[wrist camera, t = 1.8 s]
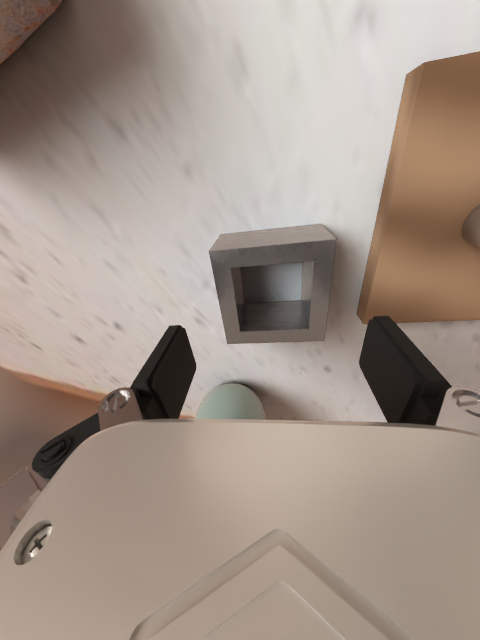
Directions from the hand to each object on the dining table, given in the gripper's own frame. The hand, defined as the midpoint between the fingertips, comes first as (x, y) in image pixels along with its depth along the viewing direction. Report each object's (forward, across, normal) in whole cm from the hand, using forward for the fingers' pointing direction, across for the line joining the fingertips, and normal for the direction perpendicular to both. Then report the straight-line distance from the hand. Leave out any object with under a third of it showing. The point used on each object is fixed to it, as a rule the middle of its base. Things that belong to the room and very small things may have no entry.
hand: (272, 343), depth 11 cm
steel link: (+7, 0, -1) cm, 8 cm away
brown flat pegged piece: (+7, -13, -4) cm, 15 cm away
